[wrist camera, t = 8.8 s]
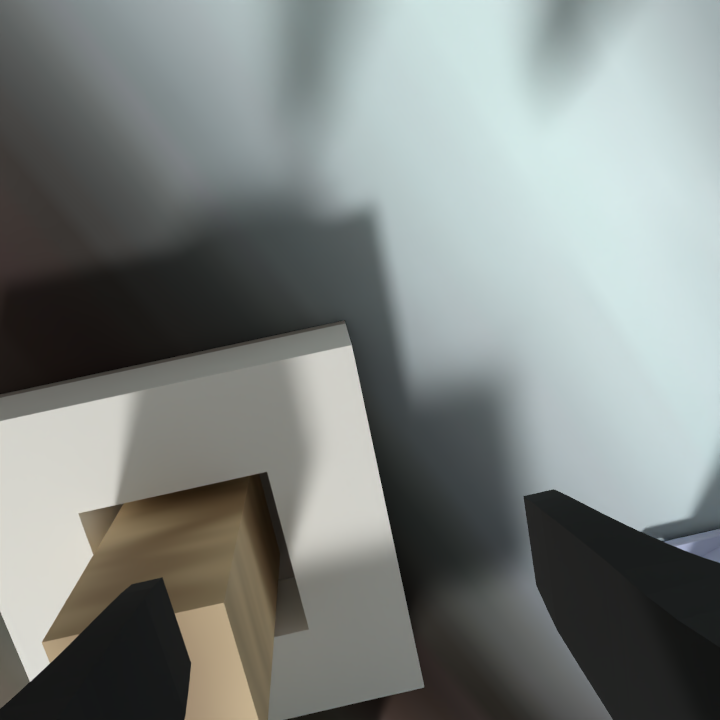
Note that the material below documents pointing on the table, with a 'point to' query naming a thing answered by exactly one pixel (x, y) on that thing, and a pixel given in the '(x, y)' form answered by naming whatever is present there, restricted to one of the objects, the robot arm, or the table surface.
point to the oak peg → (195, 588)
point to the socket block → (208, 466)
